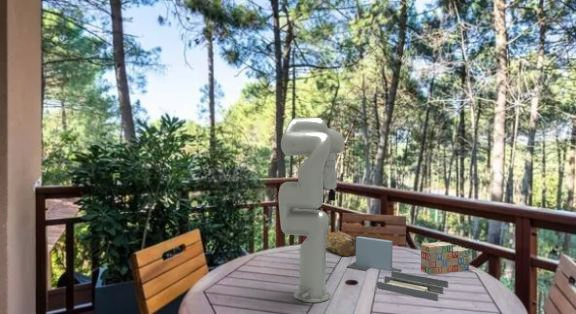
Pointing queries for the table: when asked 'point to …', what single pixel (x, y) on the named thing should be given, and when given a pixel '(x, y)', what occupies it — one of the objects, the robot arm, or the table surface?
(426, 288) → the offcut upper
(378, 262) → the panel
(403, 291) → the rack
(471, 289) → the table surface
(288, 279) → the table surface
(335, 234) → the petrified wood
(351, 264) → the mat
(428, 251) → the stack of blocks
